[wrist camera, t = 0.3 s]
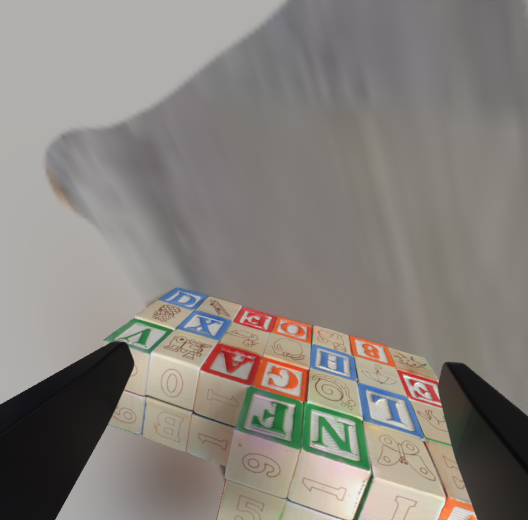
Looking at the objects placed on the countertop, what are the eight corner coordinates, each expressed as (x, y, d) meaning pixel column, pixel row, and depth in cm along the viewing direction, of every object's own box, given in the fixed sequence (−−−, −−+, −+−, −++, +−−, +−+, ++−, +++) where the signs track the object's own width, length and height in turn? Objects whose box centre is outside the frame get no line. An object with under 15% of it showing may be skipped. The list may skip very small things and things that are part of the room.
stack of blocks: (168, 346, 28) (54, 463, 16) (176, 285, 26) (55, 366, 14) (401, 419, 25) (470, 627, 13) (428, 356, 23) (535, 530, 11)
